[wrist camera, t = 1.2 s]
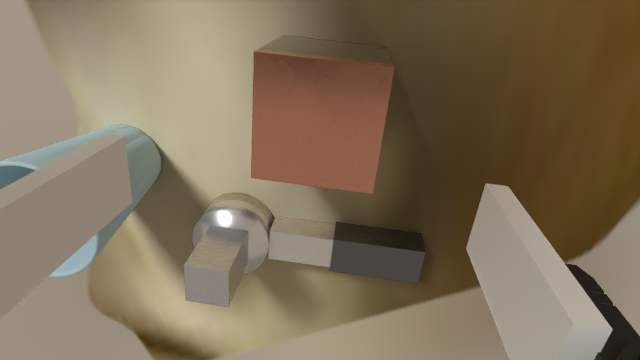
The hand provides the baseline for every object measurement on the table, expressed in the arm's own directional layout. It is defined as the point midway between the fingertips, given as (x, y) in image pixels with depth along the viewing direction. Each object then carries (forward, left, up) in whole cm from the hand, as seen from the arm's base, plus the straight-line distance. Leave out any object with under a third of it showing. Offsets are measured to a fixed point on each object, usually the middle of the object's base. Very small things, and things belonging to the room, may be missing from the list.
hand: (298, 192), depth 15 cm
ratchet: (+8, -9, -15) cm, 19 cm away
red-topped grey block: (0, 0, -15) cm, 15 cm away
